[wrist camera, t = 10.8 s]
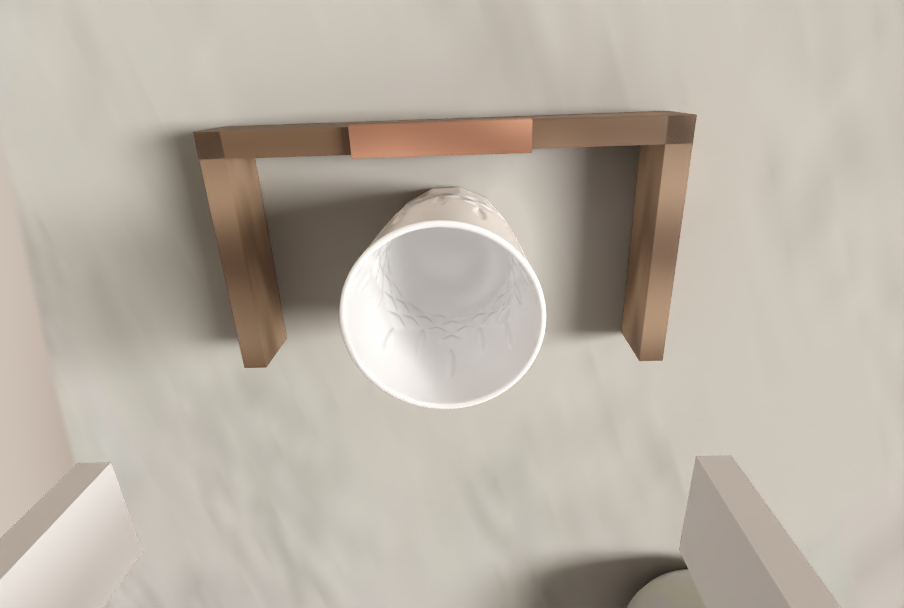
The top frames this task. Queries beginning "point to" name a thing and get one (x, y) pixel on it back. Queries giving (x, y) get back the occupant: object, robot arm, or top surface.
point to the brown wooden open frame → (236, 148)
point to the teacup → (669, 592)
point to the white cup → (443, 303)
